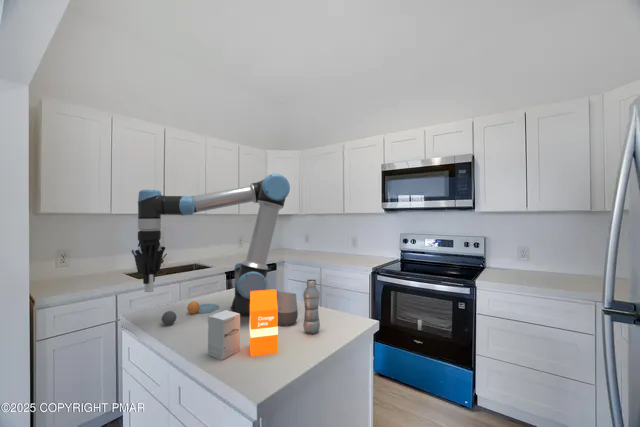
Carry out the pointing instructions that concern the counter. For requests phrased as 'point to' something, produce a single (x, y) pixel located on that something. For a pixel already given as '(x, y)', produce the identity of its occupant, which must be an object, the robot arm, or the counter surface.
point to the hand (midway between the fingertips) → (148, 291)
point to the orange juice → (263, 322)
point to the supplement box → (223, 334)
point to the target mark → (207, 308)
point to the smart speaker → (287, 308)
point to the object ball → (193, 307)
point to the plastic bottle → (311, 307)
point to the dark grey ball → (169, 318)
